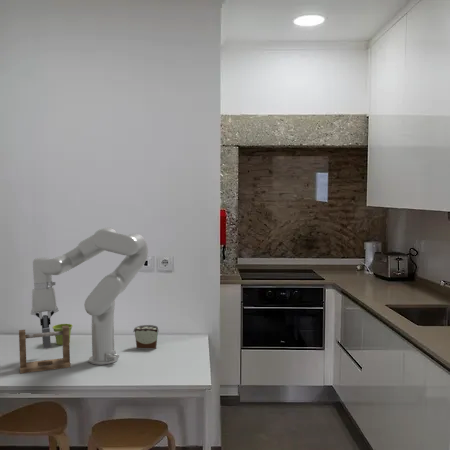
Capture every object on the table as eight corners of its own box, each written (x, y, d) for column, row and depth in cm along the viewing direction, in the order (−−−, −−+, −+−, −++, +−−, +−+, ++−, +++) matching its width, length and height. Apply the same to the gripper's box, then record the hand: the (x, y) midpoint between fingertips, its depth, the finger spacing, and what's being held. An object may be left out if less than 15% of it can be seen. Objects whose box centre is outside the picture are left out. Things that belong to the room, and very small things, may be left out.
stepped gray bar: (50, 347, 234) (49, 317, 233) (43, 348, 233) (41, 318, 232) (49, 343, 241) (48, 313, 240) (42, 343, 240) (41, 314, 239)
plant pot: (67, 346, 255) (66, 329, 255) (49, 345, 257) (48, 328, 257) (76, 341, 265) (76, 324, 264) (59, 340, 267) (58, 323, 266)
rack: (68, 360, 235) (67, 324, 234) (70, 367, 227) (69, 329, 225) (20, 366, 228) (18, 328, 226) (20, 373, 219) (19, 334, 218)
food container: (161, 345, 258) (161, 324, 257) (159, 349, 251) (158, 328, 251) (137, 344, 259) (136, 324, 258) (133, 348, 253) (133, 327, 252)
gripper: (60, 282, 241) (63, 322, 243) (24, 286, 236) (26, 327, 237) (62, 285, 234) (64, 326, 236) (24, 289, 229) (27, 331, 230)
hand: (45, 326), depth 236 cm, fingers closed on stepped gray bar, 1 cm apart
